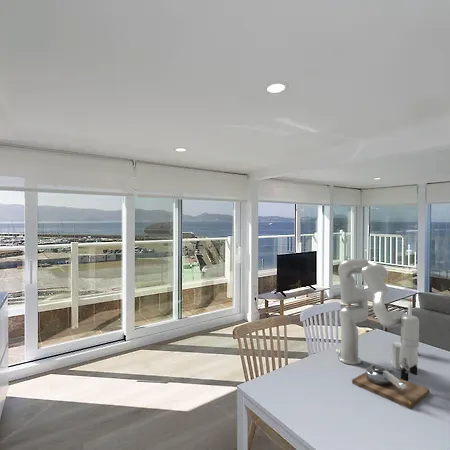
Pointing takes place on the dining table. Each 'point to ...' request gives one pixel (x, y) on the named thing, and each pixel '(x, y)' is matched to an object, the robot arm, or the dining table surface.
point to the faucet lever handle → (383, 377)
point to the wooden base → (394, 391)
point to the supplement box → (396, 355)
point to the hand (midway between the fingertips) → (409, 377)
